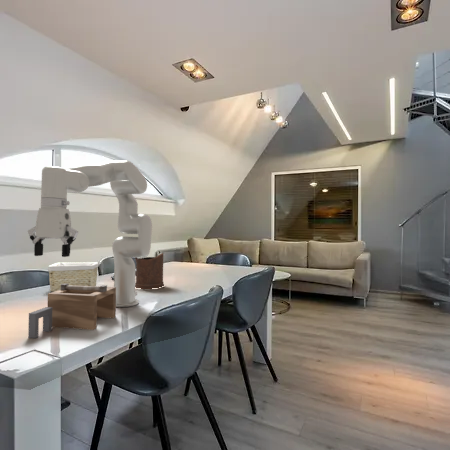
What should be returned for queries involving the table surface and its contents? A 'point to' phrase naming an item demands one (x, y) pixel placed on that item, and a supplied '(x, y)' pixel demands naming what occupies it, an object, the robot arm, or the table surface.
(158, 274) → the brown woven bin
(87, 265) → the storage basket
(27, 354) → the table surface
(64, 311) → the stand
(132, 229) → the robot arm
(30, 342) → the table surface
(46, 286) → the table surface
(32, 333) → the grey piece
